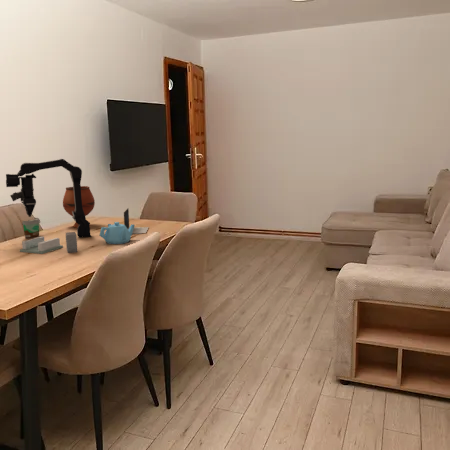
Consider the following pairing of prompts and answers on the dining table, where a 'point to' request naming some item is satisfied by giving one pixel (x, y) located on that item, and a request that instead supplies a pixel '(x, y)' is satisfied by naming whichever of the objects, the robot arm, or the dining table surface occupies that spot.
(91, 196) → the brown clay vase
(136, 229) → the laptop
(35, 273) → the dining table surface
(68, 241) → the steel block
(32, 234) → the food container
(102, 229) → the teapot
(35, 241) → the block
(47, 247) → the vise
